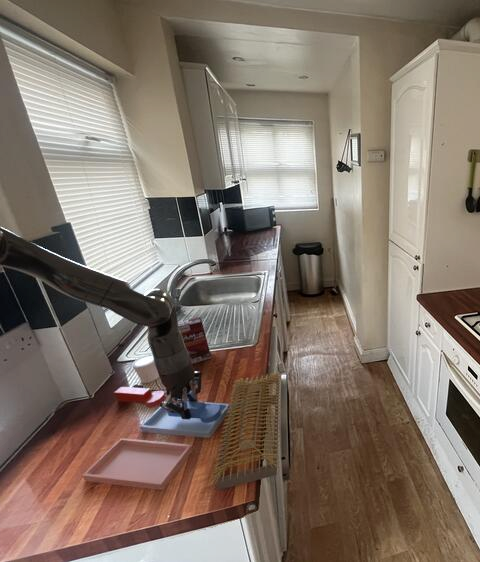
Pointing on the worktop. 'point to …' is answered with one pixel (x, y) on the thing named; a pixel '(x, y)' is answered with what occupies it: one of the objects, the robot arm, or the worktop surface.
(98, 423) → the worktop surface
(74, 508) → the worktop surface
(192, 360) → the supplement box
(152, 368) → the white short cylinder
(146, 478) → the rose tray
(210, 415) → the blue spoon
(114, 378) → the worktop surface
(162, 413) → the blue tray
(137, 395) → the red spoon
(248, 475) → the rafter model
